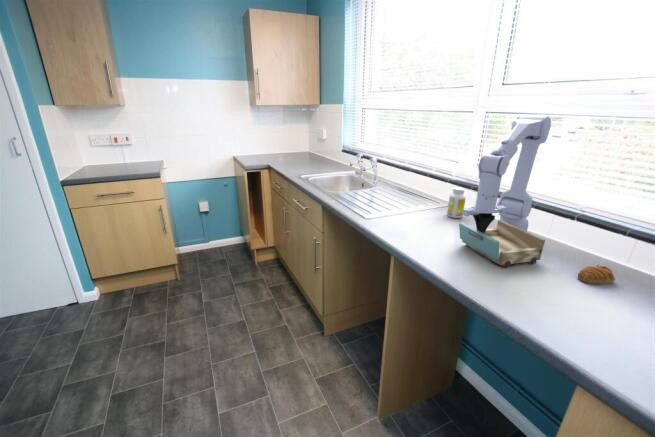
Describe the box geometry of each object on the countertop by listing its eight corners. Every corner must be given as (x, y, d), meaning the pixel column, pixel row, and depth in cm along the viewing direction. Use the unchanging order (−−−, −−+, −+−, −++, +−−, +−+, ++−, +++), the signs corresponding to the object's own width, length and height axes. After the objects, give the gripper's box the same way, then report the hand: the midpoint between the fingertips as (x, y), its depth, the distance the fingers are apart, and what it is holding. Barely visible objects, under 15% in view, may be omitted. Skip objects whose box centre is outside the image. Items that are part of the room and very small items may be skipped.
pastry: (594, 288, 86) (598, 276, 85) (569, 277, 92) (572, 265, 91) (615, 282, 90) (620, 271, 88) (590, 272, 95) (593, 260, 94)
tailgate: (462, 237, 110) (462, 222, 108) (499, 258, 95) (499, 241, 93) (458, 238, 110) (457, 223, 108) (494, 260, 95) (493, 243, 92)
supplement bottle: (463, 215, 143) (468, 188, 138) (460, 219, 137) (465, 191, 133) (448, 212, 146) (452, 186, 142) (445, 216, 141) (449, 188, 137)
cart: (496, 241, 116) (500, 220, 113) (538, 263, 99) (545, 239, 97) (461, 244, 112) (465, 223, 109) (499, 268, 96) (505, 244, 93)
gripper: (497, 189, 102) (489, 228, 106) (458, 192, 98) (452, 232, 103) (514, 195, 95) (505, 236, 100) (474, 198, 92) (466, 241, 96)
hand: (479, 235), depth 101 cm, fingers closed, pressing on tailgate
